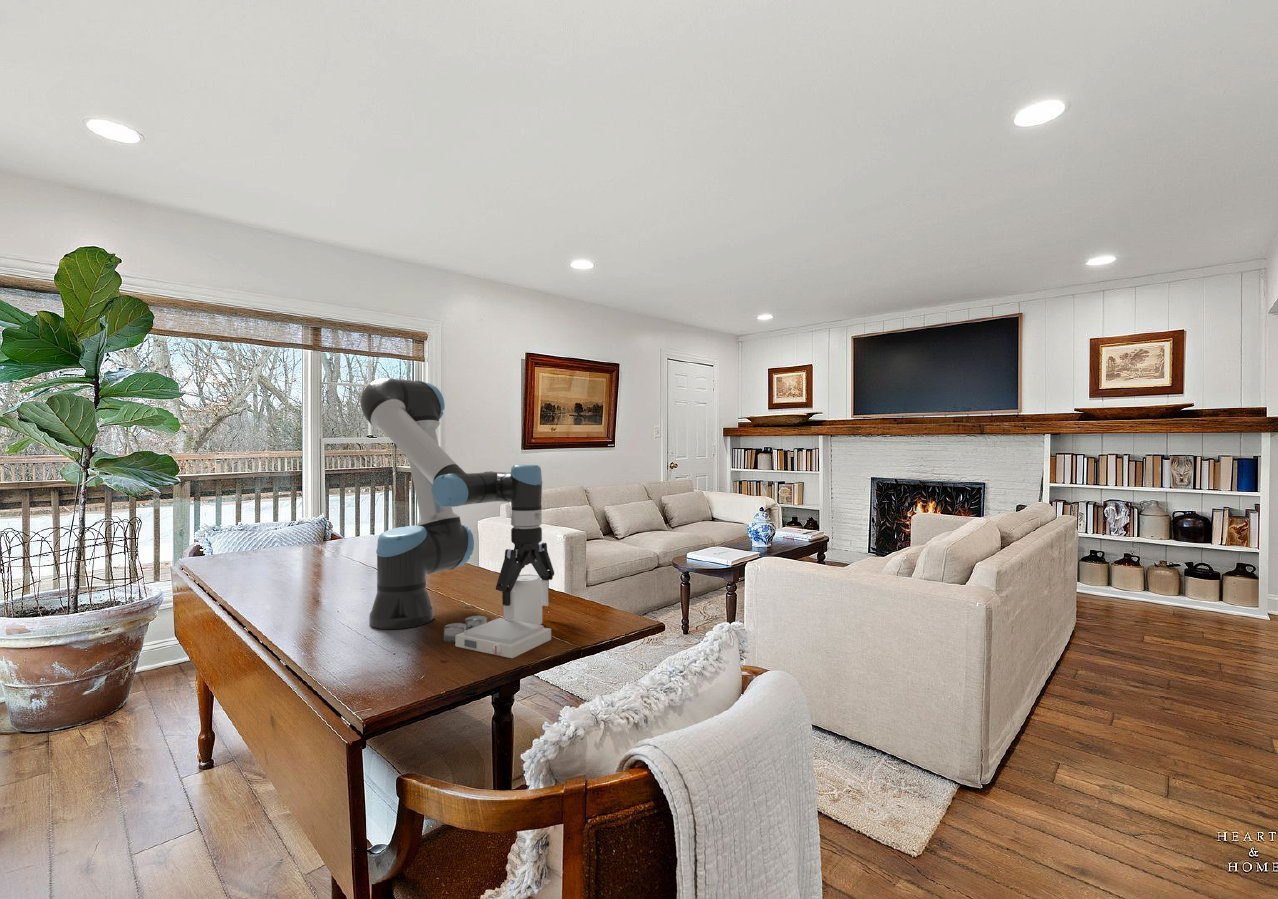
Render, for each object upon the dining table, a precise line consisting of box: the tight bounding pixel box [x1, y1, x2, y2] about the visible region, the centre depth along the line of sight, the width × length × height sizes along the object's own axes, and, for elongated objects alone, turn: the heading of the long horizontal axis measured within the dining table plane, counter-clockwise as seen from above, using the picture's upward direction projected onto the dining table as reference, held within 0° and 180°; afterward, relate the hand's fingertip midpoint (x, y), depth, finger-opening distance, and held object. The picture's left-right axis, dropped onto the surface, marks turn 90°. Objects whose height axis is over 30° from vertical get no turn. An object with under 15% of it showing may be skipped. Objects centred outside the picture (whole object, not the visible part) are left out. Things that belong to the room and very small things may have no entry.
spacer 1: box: [443, 622, 466, 643], centre depth 141 cm, size 5×5×3 cm
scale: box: [454, 617, 552, 659], centre depth 138 cm, size 16×15×3 cm
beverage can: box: [509, 574, 543, 625], centre depth 152 cm, size 8×8×12 cm
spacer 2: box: [464, 615, 488, 630], centre depth 147 cm, size 5×5×3 cm
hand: (526, 612), depth 152 cm, fingers open, 13 cm apart
